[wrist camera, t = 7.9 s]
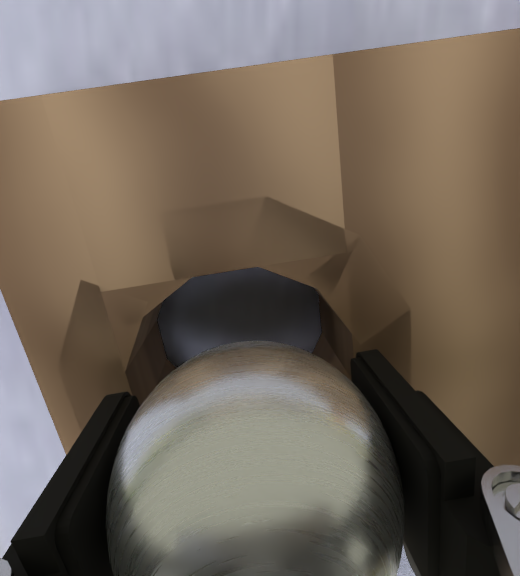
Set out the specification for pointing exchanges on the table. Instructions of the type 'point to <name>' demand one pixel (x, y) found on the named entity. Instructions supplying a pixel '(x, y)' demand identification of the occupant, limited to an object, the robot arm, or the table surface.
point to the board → (278, 219)
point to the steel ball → (255, 472)
